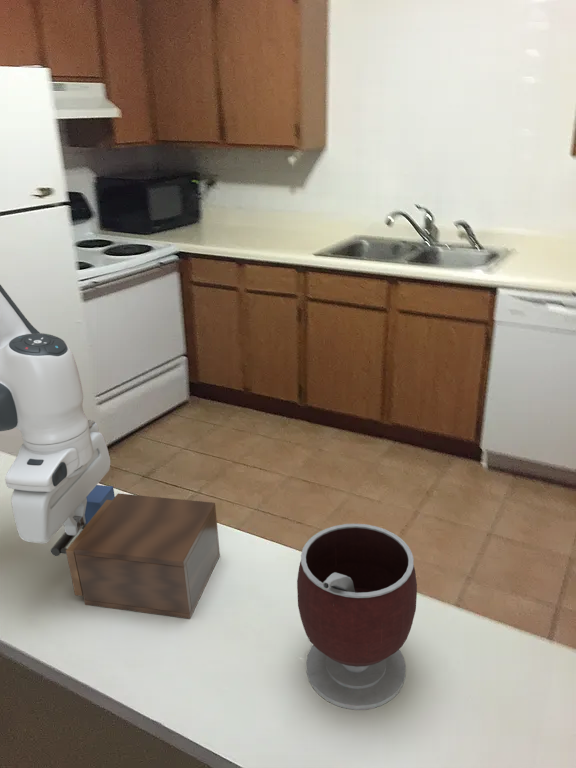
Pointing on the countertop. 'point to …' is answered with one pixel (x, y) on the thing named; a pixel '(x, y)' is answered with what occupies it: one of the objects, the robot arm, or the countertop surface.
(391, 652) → the mate gourd
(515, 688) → the countertop surface
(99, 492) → the block
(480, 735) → the countertop surface
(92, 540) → the cabinet
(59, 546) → the drawer
